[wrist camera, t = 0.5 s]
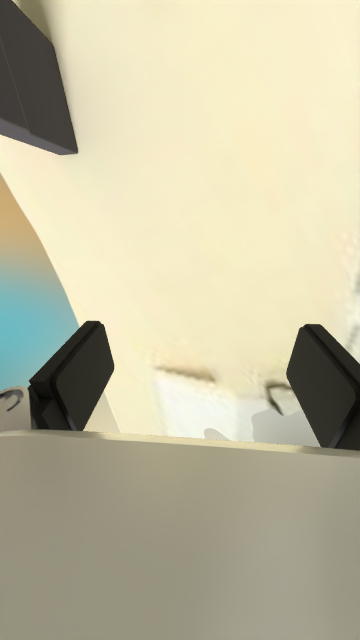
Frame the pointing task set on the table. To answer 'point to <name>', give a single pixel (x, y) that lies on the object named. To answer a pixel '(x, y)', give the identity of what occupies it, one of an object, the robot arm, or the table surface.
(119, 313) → the table surface
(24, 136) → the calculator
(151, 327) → the table surface
